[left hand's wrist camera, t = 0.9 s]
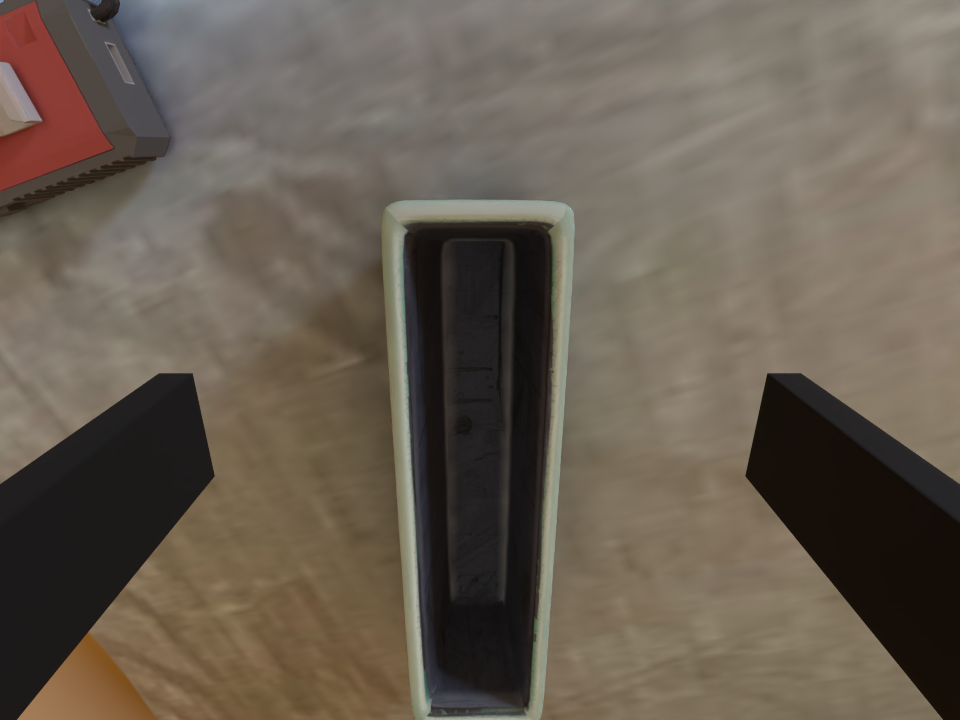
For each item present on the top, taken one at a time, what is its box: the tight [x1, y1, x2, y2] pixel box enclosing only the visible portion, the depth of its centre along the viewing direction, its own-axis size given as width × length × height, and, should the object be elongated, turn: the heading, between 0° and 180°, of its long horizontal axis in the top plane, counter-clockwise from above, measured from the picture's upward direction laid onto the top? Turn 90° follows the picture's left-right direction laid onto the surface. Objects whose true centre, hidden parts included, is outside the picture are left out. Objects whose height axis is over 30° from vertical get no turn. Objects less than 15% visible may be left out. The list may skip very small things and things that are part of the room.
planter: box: [381, 200, 575, 720], centre depth 27 cm, size 28×7×7 cm, turn 0°
